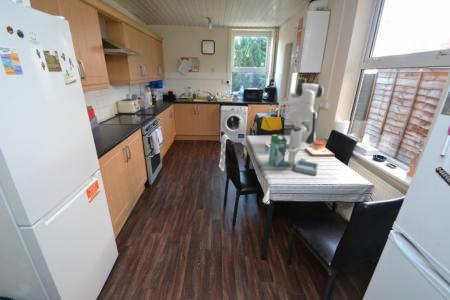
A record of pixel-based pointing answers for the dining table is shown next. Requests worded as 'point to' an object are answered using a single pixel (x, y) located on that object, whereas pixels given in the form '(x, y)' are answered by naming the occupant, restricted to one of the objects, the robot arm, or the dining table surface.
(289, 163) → the cucumber chunk
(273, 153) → the milk carton
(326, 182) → the dining table surface
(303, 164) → the bin
